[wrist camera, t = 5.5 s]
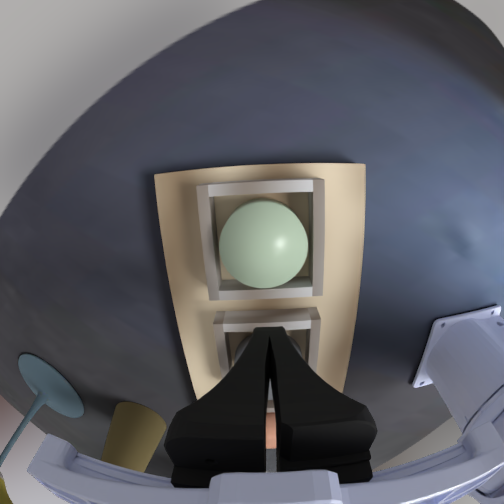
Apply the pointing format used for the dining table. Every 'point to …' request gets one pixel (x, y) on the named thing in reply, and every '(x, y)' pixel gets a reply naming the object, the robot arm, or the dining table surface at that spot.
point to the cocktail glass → (42, 400)
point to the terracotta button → (270, 430)
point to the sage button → (263, 243)
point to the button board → (264, 299)
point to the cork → (133, 436)
